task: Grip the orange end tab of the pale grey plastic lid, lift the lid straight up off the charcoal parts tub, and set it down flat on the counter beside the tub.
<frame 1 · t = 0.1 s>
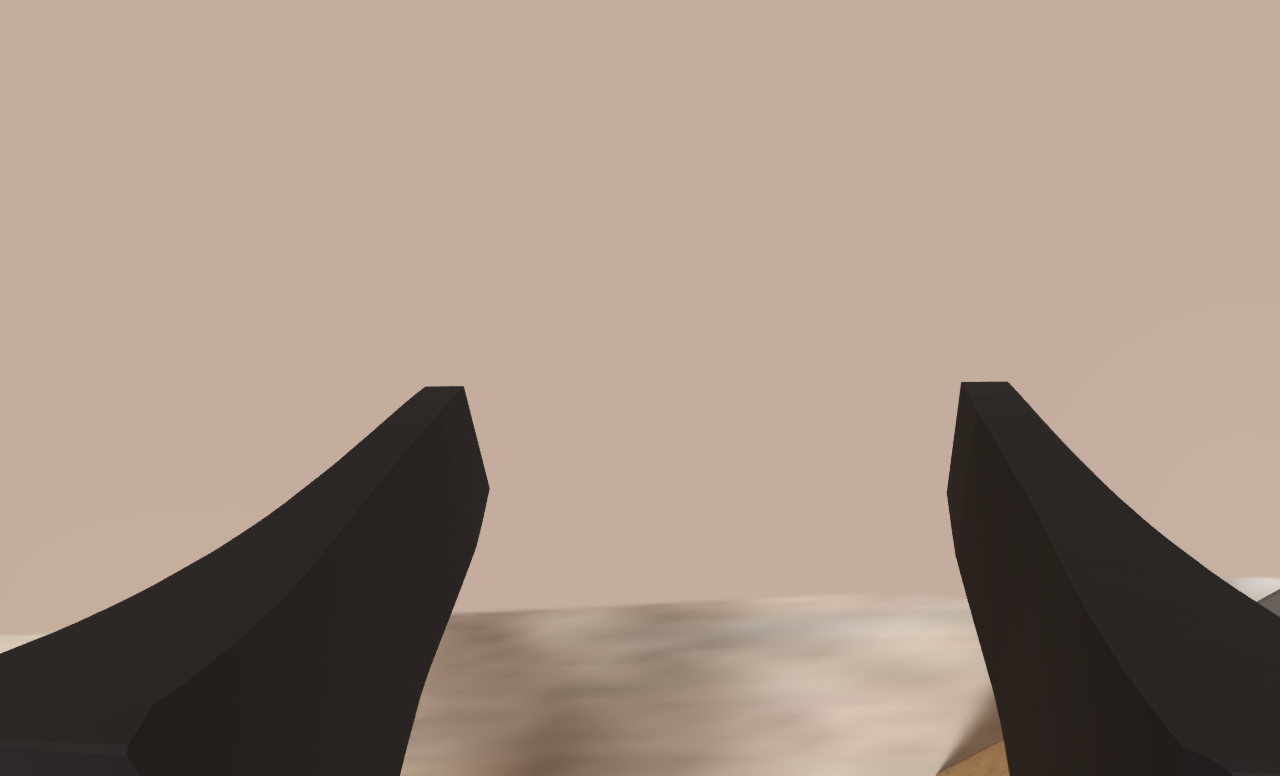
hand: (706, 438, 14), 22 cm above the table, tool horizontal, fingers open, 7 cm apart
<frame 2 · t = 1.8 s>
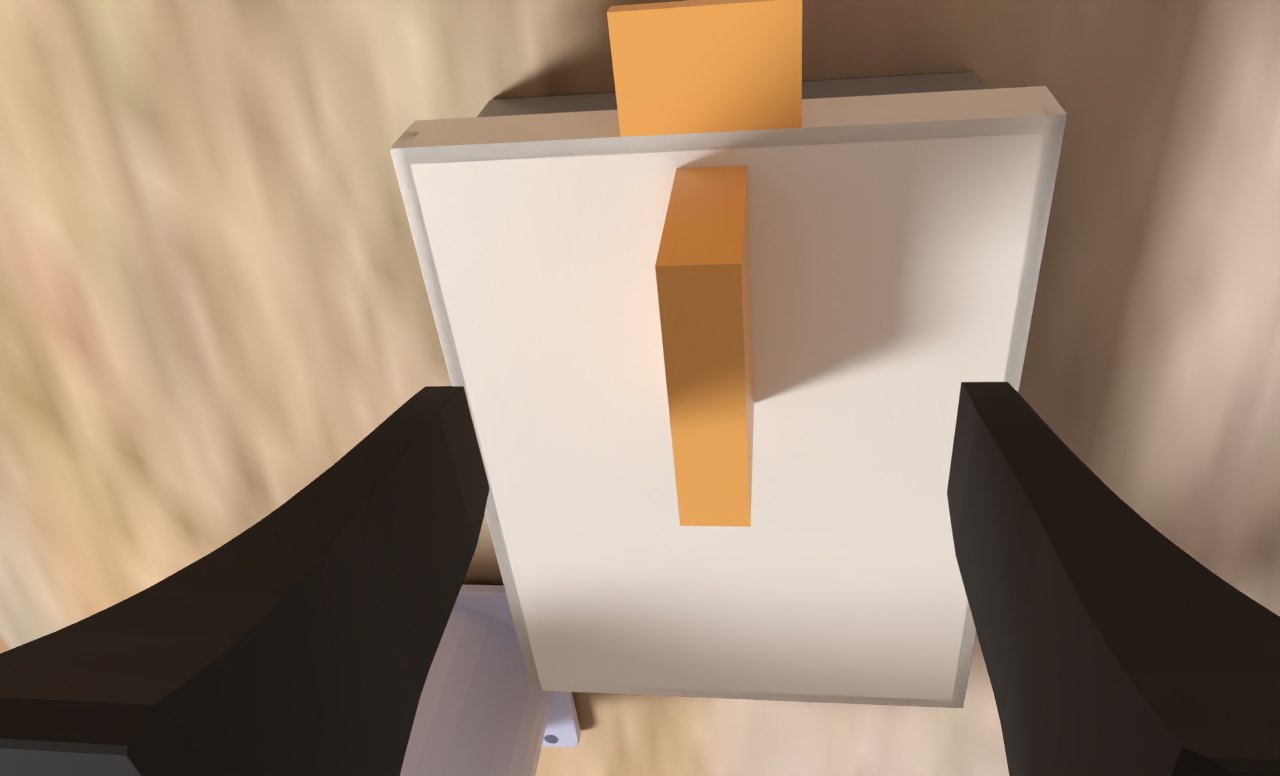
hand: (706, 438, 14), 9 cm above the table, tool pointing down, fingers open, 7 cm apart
tub: (734, 365, 23), on the table
lid: (729, 454, 20), point 3 cm above the table, touching tub
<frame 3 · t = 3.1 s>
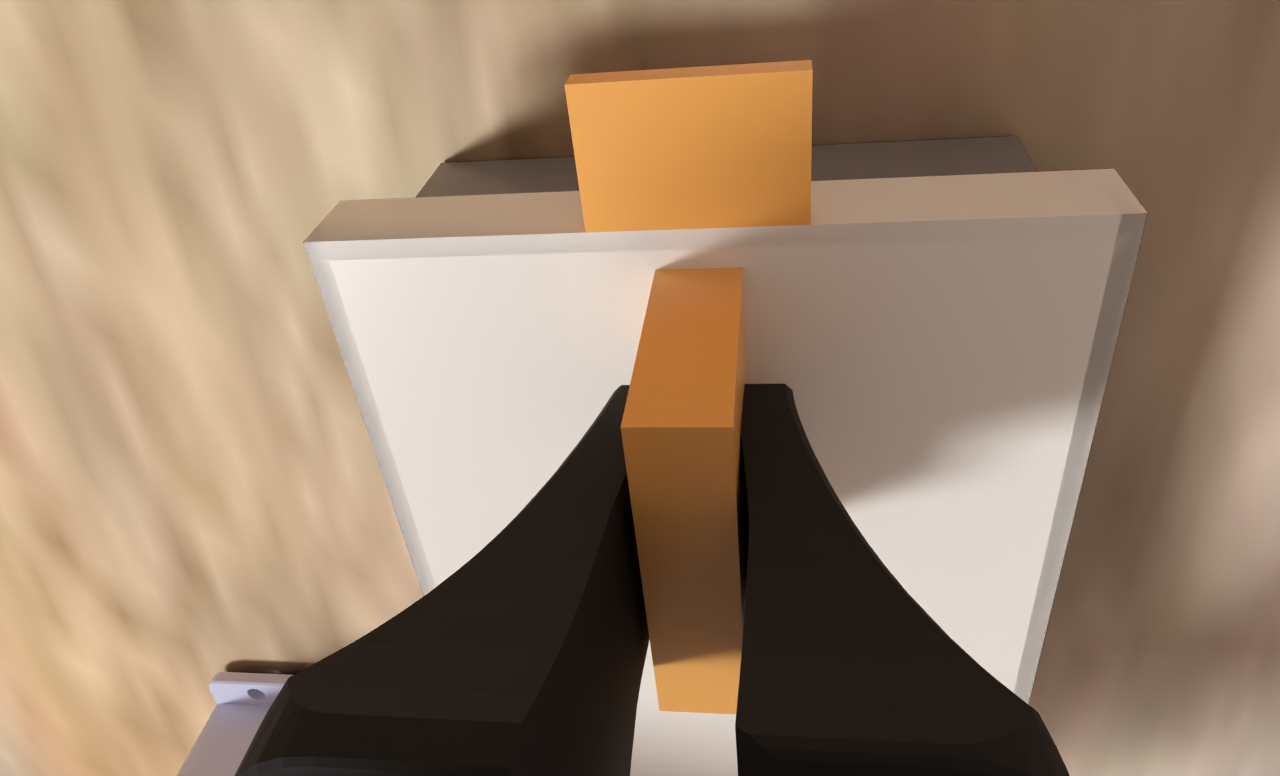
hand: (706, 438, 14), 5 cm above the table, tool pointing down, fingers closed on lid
tub: (730, 457, 20), on the table
lid: (723, 578, 17), point 3 cm above the table, touching gripper, tub
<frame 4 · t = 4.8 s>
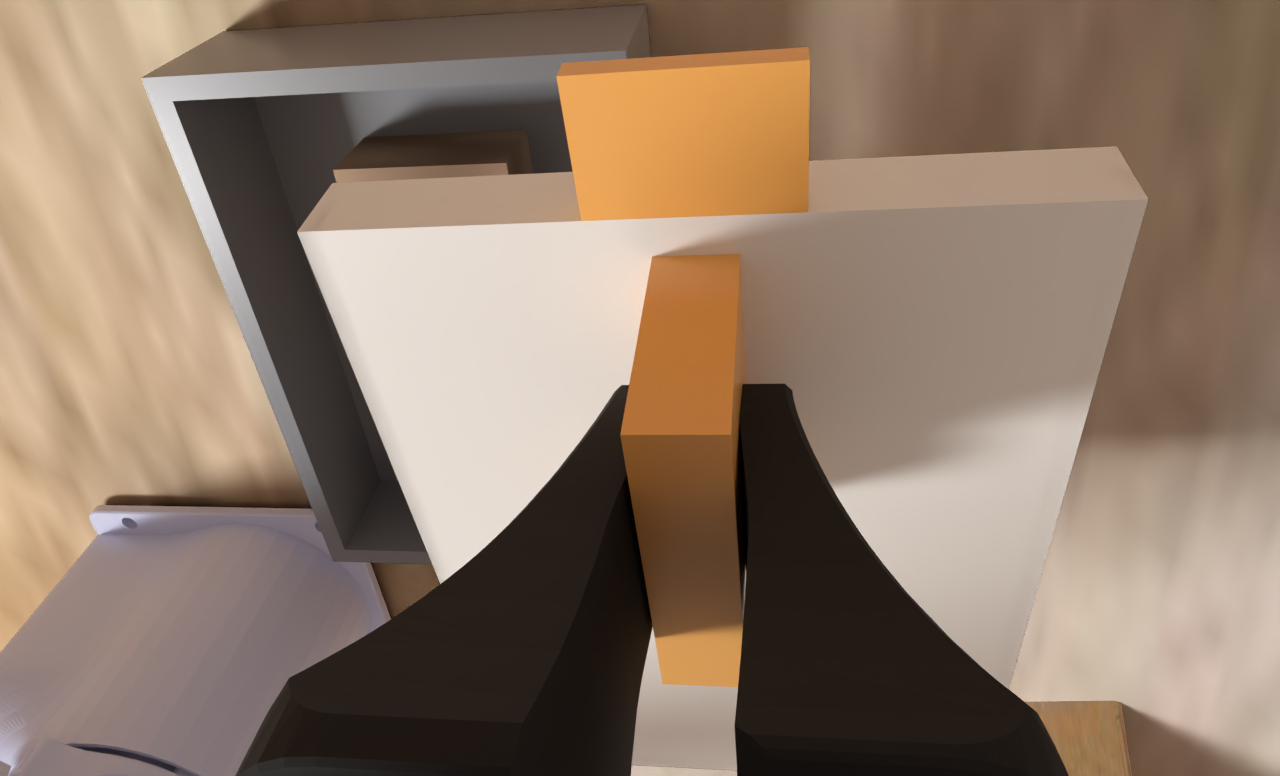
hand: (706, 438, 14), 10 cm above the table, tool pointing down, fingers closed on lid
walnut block: (461, 211, 23), resting on tub
tub: (484, 288, 25), on the table
lid: (723, 540, 18), point 8 cm above the table, tilted 6°, touching gripper
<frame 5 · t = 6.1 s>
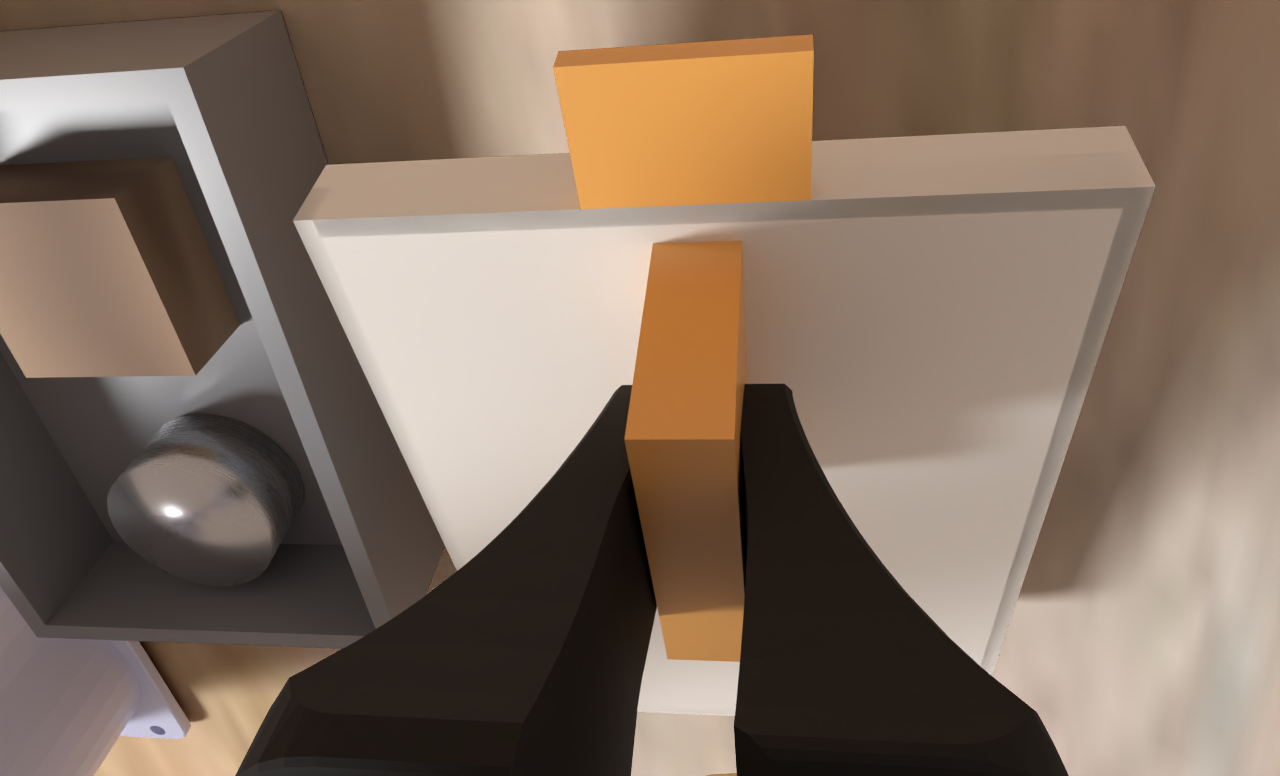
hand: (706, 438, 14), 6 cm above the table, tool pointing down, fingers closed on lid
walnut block: (123, 248, 20), resting on tub
domed metal puck: (229, 474, 24), resting on tub
tub: (179, 333, 22), on the table
lid: (724, 506, 18), point 4 cm above the table, tilted 10°, touching gripper
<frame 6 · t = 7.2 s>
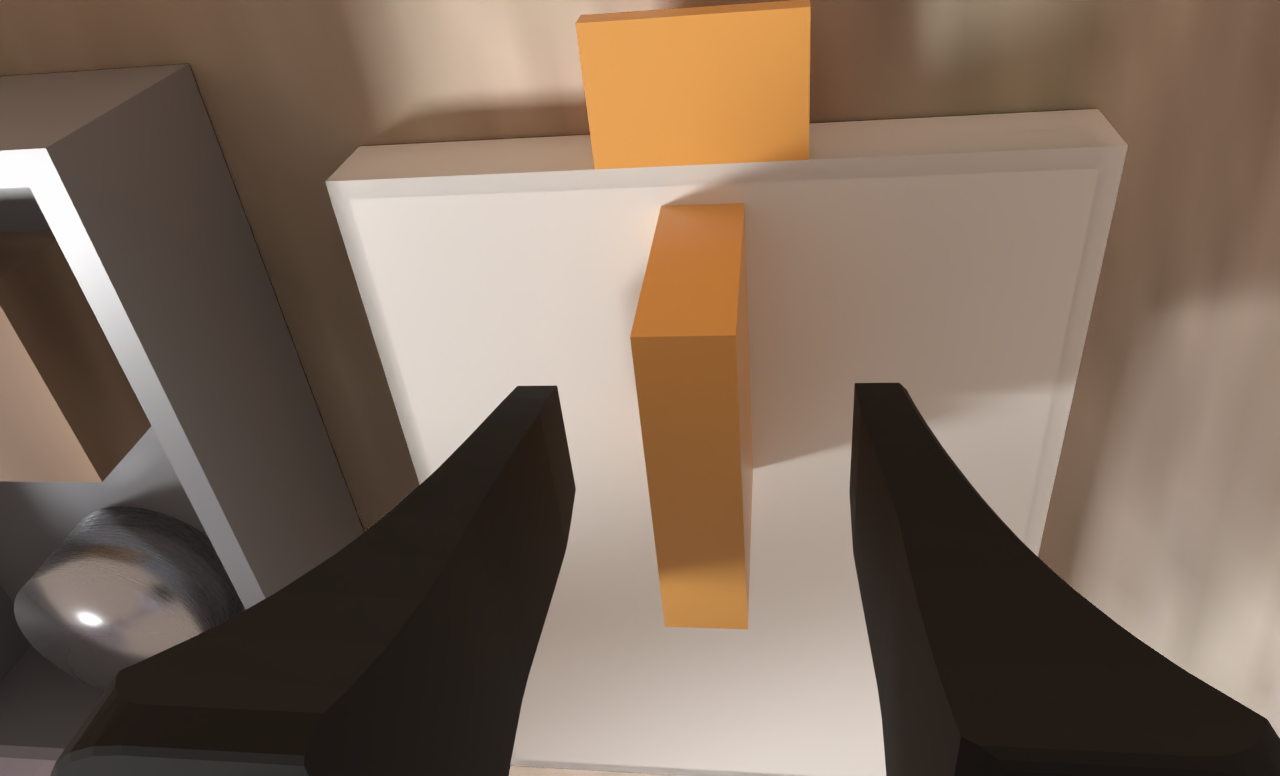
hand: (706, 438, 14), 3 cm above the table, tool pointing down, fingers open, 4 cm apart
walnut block: (23, 330, 17), resting on tub
domed metal puck: (160, 570, 21), resting on tub
tub: (96, 419, 19), on the table
lid: (725, 520, 18), point 1 cm above the table
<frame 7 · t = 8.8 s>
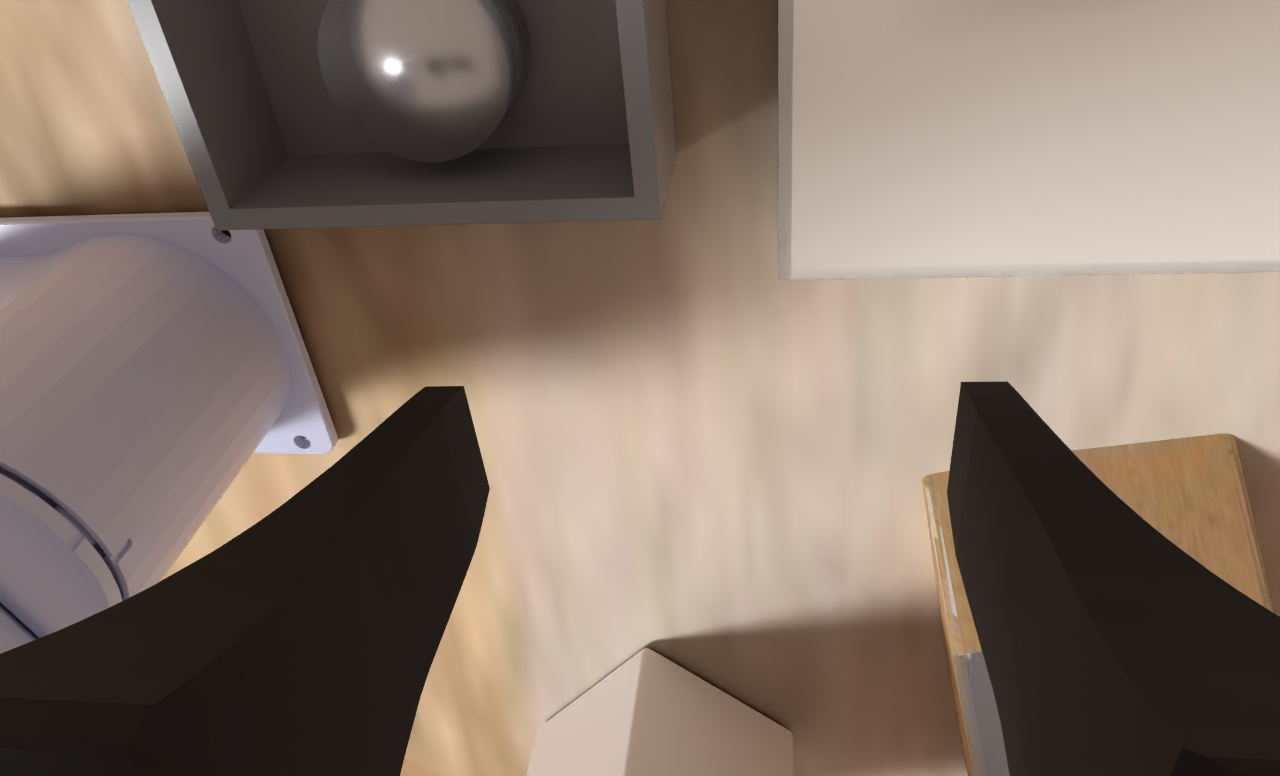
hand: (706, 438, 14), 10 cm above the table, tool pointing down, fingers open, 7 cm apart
domed metal puck: (441, 41, 20), resting on tub
sandwich container: (1079, 619, 30), on the table
milk carton: (663, 721, 36), on the table
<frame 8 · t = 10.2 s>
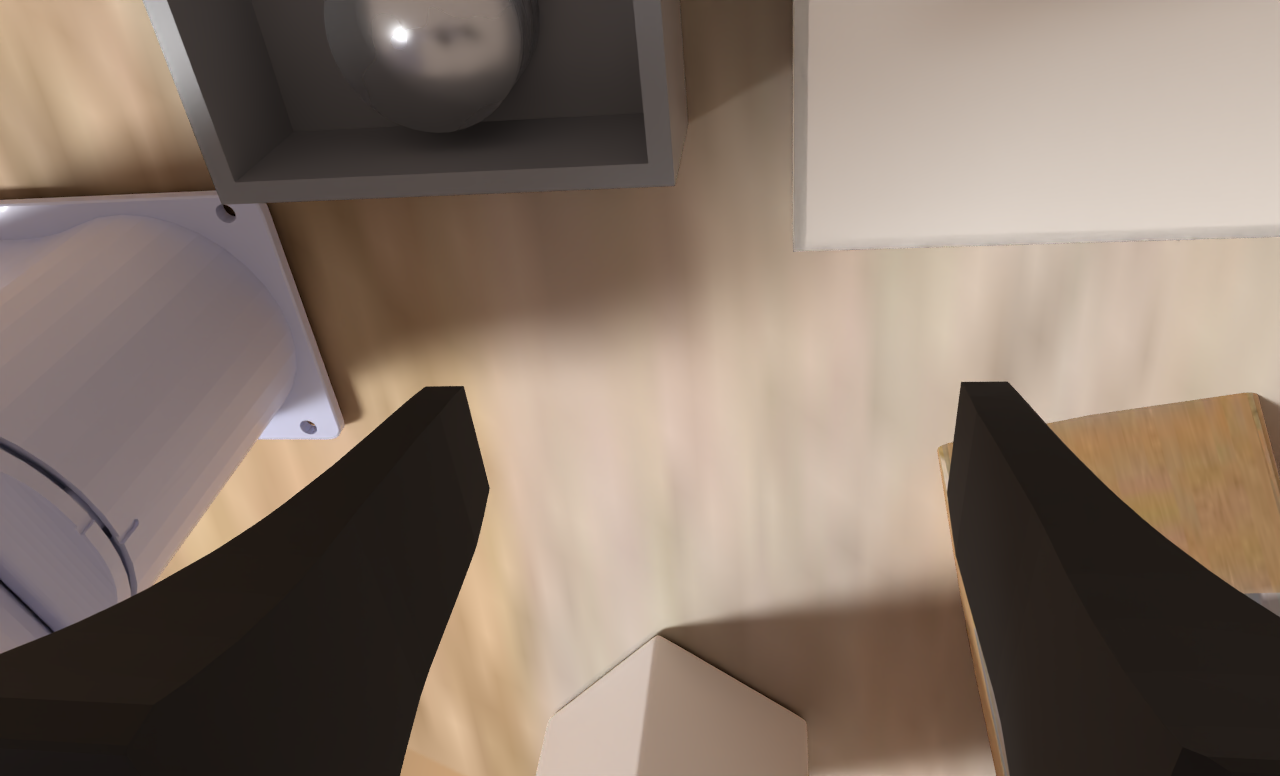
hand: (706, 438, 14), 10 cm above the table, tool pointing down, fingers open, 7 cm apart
domed metal puck: (449, 10, 20), resting on tub
sandwich container: (1102, 592, 29), on the table
milk carton: (675, 710, 35), on the table
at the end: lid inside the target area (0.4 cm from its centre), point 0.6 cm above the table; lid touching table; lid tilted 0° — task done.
